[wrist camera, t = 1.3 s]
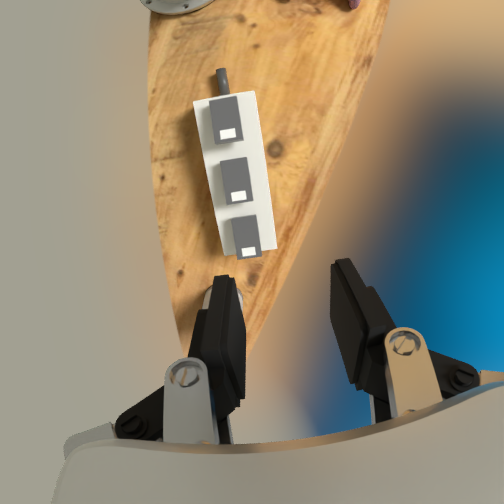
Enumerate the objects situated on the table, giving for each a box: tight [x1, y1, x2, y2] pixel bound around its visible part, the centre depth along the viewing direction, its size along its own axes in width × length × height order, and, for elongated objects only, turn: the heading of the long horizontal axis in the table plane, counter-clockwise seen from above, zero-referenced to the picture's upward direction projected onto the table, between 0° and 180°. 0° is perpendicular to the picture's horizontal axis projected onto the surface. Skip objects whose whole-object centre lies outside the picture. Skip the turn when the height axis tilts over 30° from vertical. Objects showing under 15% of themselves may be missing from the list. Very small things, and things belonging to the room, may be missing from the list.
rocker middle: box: [220, 157, 254, 205], centre depth 30 cm, size 5×3×1 cm, turn 8°
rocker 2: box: [231, 214, 262, 260], centre depth 33 cm, size 5×3×1 cm, turn 9°
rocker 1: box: [209, 96, 244, 145], centre depth 27 cm, size 5×3×1 cm, turn 8°
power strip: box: [193, 68, 277, 256], centre depth 32 cm, size 24×7×5 cm, turn 9°
